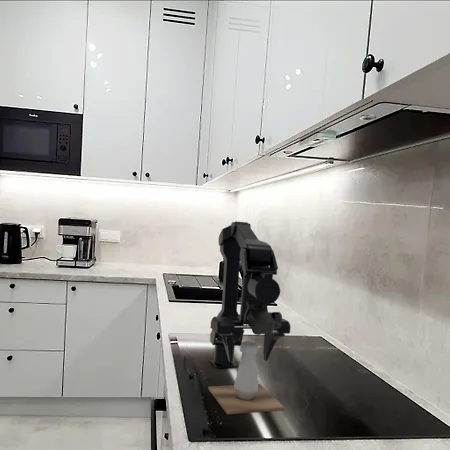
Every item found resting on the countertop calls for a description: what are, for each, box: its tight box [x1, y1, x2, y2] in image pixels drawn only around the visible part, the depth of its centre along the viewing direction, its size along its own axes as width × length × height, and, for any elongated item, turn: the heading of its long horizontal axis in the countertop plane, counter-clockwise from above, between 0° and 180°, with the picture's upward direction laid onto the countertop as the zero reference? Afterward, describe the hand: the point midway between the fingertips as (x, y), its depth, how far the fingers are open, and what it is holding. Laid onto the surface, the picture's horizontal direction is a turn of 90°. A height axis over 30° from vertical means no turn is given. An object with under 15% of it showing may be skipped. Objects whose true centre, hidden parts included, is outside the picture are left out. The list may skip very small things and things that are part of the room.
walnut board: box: [207, 383, 285, 415], centre depth 100 cm, size 14×14×1 cm
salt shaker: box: [233, 340, 259, 400], centre depth 100 cm, size 6×6×13 cm
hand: (247, 360), depth 100 cm, fingers open, 9 cm apart
